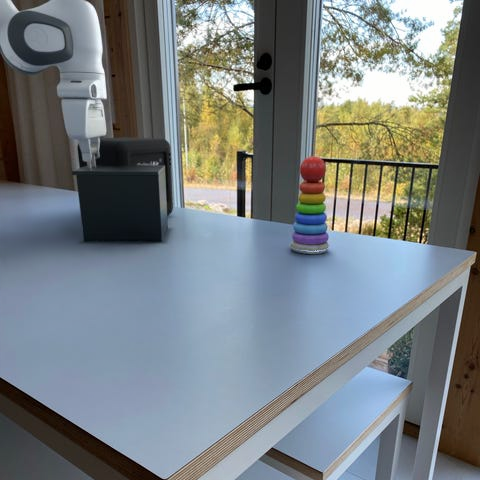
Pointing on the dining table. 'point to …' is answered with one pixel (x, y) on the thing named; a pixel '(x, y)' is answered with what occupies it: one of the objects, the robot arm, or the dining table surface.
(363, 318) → the dining table surface
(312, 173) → the stacking toy
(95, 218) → the waste bin
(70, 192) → the dining table surface
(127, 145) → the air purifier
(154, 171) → the bin lid
